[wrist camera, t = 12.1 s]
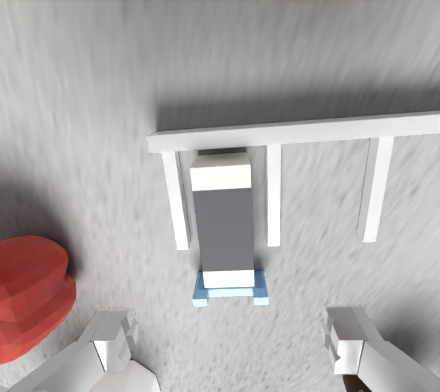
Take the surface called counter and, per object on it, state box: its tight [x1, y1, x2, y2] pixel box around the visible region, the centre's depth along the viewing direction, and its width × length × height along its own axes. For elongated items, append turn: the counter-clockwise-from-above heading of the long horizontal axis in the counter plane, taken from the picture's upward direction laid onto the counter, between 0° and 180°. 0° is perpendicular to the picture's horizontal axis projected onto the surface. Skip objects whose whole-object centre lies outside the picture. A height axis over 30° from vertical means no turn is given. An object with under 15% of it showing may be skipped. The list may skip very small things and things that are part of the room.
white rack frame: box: [146, 110, 440, 250], centre depth 19 cm, size 26×10×2 cm, turn 94°
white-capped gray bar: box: [190, 152, 254, 288], centre depth 20 cm, size 4×10×4 cm, turn 4°
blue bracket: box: [193, 270, 268, 307], centre depth 23 cm, size 6×1×4 cm, turn 94°
